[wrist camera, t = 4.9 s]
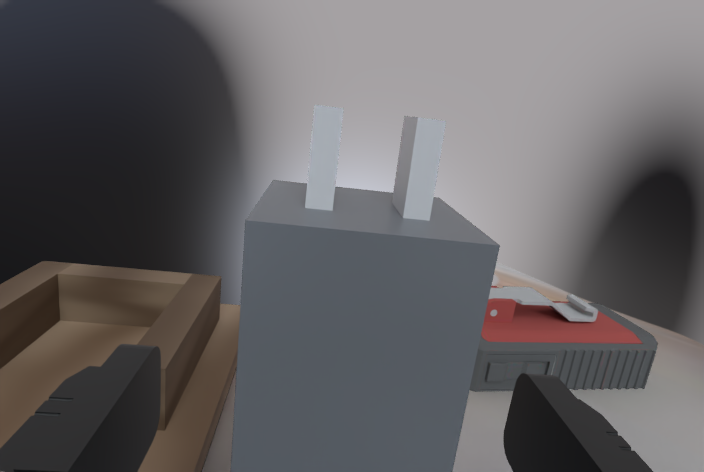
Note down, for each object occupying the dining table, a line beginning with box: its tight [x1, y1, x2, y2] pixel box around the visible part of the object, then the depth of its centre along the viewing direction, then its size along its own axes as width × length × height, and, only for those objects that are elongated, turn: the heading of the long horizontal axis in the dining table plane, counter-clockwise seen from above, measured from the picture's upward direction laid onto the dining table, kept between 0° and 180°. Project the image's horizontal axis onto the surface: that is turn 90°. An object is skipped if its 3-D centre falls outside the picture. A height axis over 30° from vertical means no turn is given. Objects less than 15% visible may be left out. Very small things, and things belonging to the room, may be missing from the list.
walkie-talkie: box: [469, 286, 658, 392], centre depth 27 cm, size 9×4×20 cm
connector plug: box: [231, 105, 500, 472], centre depth 10 cm, size 4×4×13 cm
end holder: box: [0, 261, 240, 472], centre depth 20 cm, size 12×13×4 cm
